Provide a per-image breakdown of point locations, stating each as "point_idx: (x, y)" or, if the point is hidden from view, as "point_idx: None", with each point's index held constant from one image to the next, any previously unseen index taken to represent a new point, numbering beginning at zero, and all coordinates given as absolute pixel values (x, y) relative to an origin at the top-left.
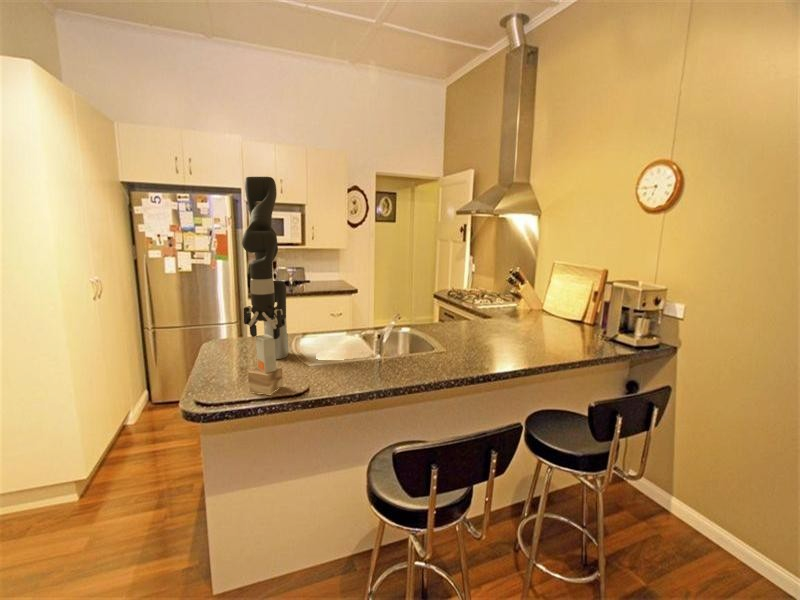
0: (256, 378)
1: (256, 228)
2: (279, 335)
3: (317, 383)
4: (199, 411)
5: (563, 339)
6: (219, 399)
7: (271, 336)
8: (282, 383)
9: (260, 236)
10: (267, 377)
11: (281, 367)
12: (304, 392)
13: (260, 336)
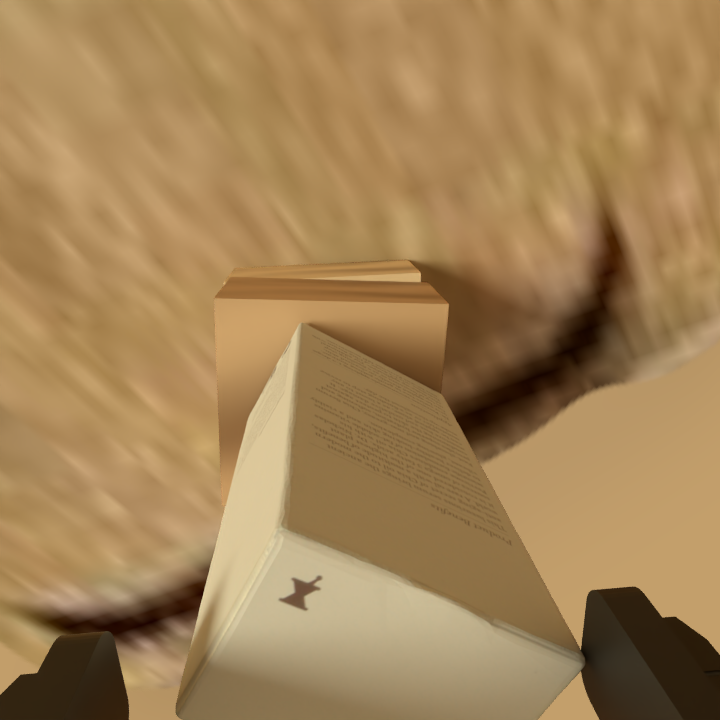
0: None
1: None
2: (705, 656)
3: (643, 108)
4: (159, 682)
5: None
6: (142, 555)
7: (486, 628)
8: (412, 265)
9: None
10: None
11: (445, 308)
12: (605, 293)
13: (272, 699)
